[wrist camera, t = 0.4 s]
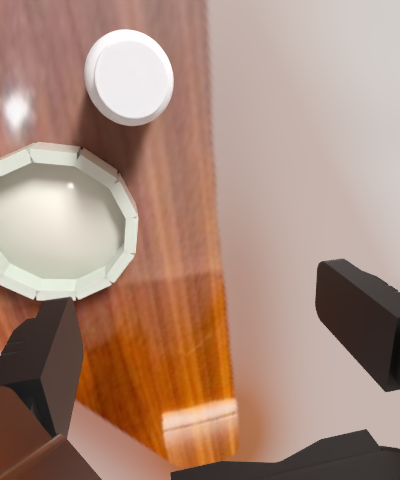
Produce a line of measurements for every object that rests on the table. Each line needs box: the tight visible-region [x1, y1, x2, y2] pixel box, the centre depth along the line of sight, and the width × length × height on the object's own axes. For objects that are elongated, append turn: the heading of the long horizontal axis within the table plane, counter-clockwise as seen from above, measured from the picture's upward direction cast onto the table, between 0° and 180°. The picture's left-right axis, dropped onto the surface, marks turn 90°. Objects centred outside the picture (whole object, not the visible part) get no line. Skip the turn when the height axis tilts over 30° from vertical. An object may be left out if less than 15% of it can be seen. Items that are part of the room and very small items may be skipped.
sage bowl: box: [0, 142, 138, 301], centre depth 29 cm, size 13×13×3 cm
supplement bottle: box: [84, 30, 174, 126], centre depth 23 cm, size 5×5×10 cm
